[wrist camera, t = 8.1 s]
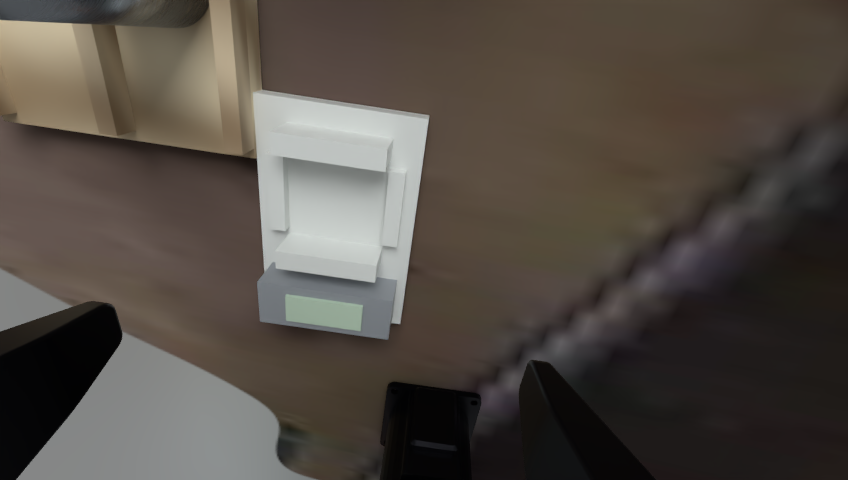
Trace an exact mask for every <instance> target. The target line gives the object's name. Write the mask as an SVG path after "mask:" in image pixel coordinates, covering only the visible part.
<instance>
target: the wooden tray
mask: <svg viewBox="0 0 848 480" xmlns="http://www.w3.org/2000/svg"><path fill="white" fill-rule="evenodd" d="M260 90H262V78H261V59H260V41H259V23H258V5H257V0H209V7H208V9H207V11H206V13H205V14H204V16H203V17H202V18H201V19H200V20H199V21H198V22H196V23H195V24H193V25H191V26H189V27H185V28H160V27H138V26H116V25H95V24H73V23H51V22H30V21H8V20H0V116H1V115H2V117H3V119H4V121H8V122H15V123H21V124H28V125H35V126H41V127H48V128H55V129H61V130H68V131H75V132H81V133H88V134H95V135H101V136H108V137H115V138H121V139H128V140H135V141H141V142H148V143H155V144H161V145H168V146H175V147H181V148H188V149H195V150H201V151H208V152H215V153H221V154H228V155H235V156H242V157H248V158H257V150H256V134H255V119H254V104H253V92H256V91H260Z"/></svg>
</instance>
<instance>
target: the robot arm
mask: <svg viewBox="0 0 848 480" xmlns="http://www.w3.org/2000/svg"><path fill="white" fill-rule="evenodd" d="M121 340H122V330H121V326H120V323H119V320H118V316H117V313H116V310H115V308H114V306H113V305H111V304H109V303H103V302H95V301H90V302H86V303H83V304H80V305H77V306H74V307H71V308H68V309H65V310H63V311H59V312H56V313H53V314H51V315H48V316H45V317H42V318H39V319H36V320H33V321H30V322H27V323H24V324H21V325H18V326H15V327H13V328H10V329H7V330H4V331H1V332H0V480H16V479H17V478H18V477H19V475H20V474H21V473H22V472H23V471H24V469H25V468H26V467H27V466H28V465H29V463H30V462H31V461H32V459H34V457H35V456H36V455H37V454H38V453H39V451H40V450H41V449H42V448H43V447H44V445H45V444H46V443H47V441H49V439H50V438H51V437H52V436H53V435H54V433H55V432H56V431H57V430H58V429H59V427H60V426H61V425H62V424H63V423H64V421H65V420H66V419H67V418H68V416H69V415H70V414H71V413H72V411H73V410H74V409H75V407H76V406H77V405H78V403H79V402H80V401H81V399H82V398H83V396H84V395H85V393H86V392H87V391H88V389H89V388H90V386H91V385H92V383H93V382H94V381H95V379H96V377H97V376H98V375H99V373H100V372H101V371H102V369H103V368H104V366H105V365H106V363H107V362H108V360H109V359H110V358H111V356H112V355H113V353H114V352H115V350H116V349H117V348H118V346H119V344H120V342H121ZM394 389H396V390H394ZM473 400H475V401H473ZM519 405H520V418H521V431H522V445H523V457H524V468H525V474H526V480H656V479H655V478H654V477H653V476H652V475H651V474H650V473H649V472H648V470H647V469H646V468H645V467H644V466H643V465H642V464H641V463H640V462H639V461H638V459H637V458H636V457H635V456H634V455H633V454H632V453H631V452H630V451H629V450H628V448H627V447H626V446H625V445H624V444H623V443H622V442H621V441H620V440H619V439H618V437H617V436H616V435H615V434H614V433H613V432H612V431H611V430H610V429H609V428H608V426H607V425H606V424H605V423H604V422H603V421H602V420H601V419H600V418H599V417H598V416H597V414H596V413H595V412H594V411H593V410H592V409H591V408H590V407H589V406H588V405H587V403H586V402H585V401H584V400H583V399H582V398H581V397H580V396H579V395H578V394H577V392H576V391H575V390H574V389H573V388H572V387H571V386H570V385H569V384H568V383H567V381H566V380H565V379H564V378H563V377H562V376H561V375H560V374H559V373H558V372H557V370H556V369H555V368H554V367H553V366H552V365H551V364H550V363H548V362H544V361H537V360H531V361H529V362H528V364H527V367H526V370H525V373H524V376H523V379H522V382H521V385H520V389H519ZM480 406H481V397H480V395H479V394H476V393H470V392H463V391H456V390H449V389H442V388H435V387H428V386H421V385H414V384H406V383H399V382H391V383H390V384H389V385H388V389H387V396H386V403H385V411H384V418H383V426H382V433H381V441H380V443H381V445H383V446H385V449H384V455H383V462H382V468H381V475H380V480H472V477H471V459H470V439H471V436H472V433H473V429H474V426H475V423H476V420H477V416H478V413H479V410H480Z"/></svg>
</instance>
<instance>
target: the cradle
mask: <svg viewBox="0 0 848 480" xmlns="http://www.w3.org/2000/svg"><path fill="white" fill-rule="evenodd" d="M253 104H254V119H255V134H256V150H257V165H258V180H259V195H260V211H261V226H262V241H263V256H264V271H265V273H264V274H263V275H262V276H261V278H260V279H259V280H258V281H257V287H258V300H259V313H260V322H267V323H274V324H281V325H288V326H295V327H302V328H309V329H316V330H323V331H330V332H337V333H344V334H351V335H358V336H365V337H372V338H379V339H386V340H388V337H389V332H390V327H391V323H395V324H400V321H401V315H402V309H403V301H404V294H405V287H406V280H407V273H408V266H409V259H410V251H411V244H412V237H413V230H414V223H415V216H416V209H417V201H418V194H419V187H420V180H421V173H422V166H423V158H424V151H425V144H426V137H427V130H428V123H429V116H430V115H424V114H417V113H411V112H404V111H397V110H391V109H384V108H378V107H371V106H365V105H358V104H352V103H345V102H339V101H332V100H325V99H319V98H312V97H306V96H299V95H293V94H286V93H280V92H273V91H267V90H260V91H256V92H253Z"/></svg>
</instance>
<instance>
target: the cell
mask: <svg viewBox="0 0 848 480" xmlns="http://www.w3.org/2000/svg"><path fill="white" fill-rule="evenodd" d="M208 7H209V0H0V20H8V21H30V22H51V23H73V24H95V25H116V26H138V27H160V28H185V27H189V26H191V25H193V24H195V23H196V22H198V21H199V20H200V19H201V18H202V17H203V16H204V14H205V13H206V11H207V9H208Z"/></svg>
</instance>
